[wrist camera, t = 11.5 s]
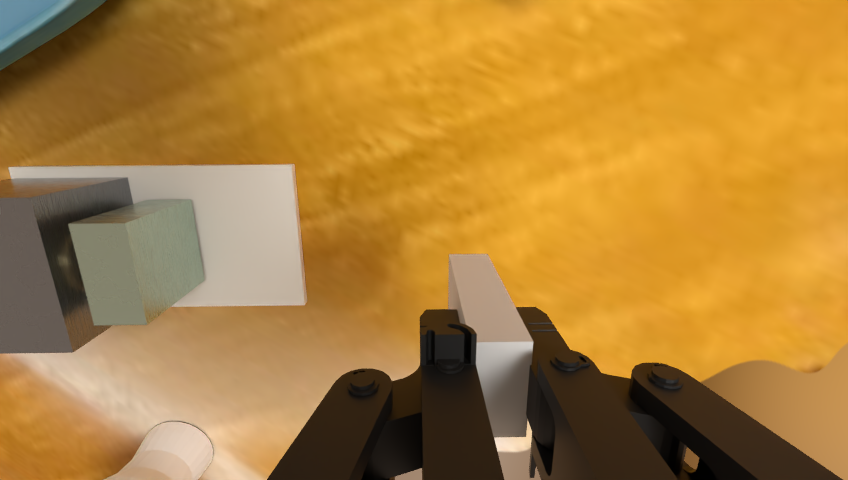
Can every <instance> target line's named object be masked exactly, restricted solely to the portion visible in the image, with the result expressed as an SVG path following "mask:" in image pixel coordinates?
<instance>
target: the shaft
mask: <svg viewBox="0 0 848 480" xmlns="http://www.w3.org/2000/svg"><path fill="white" fill-rule="evenodd" d="M68 225H69V229H70V233H71V237H72V241H73V245H74V249H75V253H76V257H77V261H78V264H79V268H80V272H81V276H82V280H83V284H84V288H85V292H86V296H87V300H88V303H89V307H90V311H91V315H92V319H93V323H94V325H147V324H149V323H150V322H151V321H153V320H154V319H155V318H156V317H158V316H159V315H160V314H162V313H163V312H164V311H166V310H167V309H168V308H169V307H171V306H172V305H173V304H175V303H176V302H177V301H179V300H180V299H181V298H182V297H184V296H185V295H186V294H188V293H189V292H190V291H192V290H193V289H194V288H195V287H197V286H198V285H199V284H201V283H202V282H203V281H205V280H204V274H203V268H202V262H201V256H200V250H199V244H198V238H197V232H196V226H195V220H194V214H193V208H192V202H191V199H179V200H145V201H141V202H138V203H135V204H132V205H128V206H125V207H122V208H118V209H115V210H112V211H109V212H105V213H102V214H99V215H96V216H92V217H89V218H86V219H82V220H79V221H76V222H73V223H69V224H68Z"/></svg>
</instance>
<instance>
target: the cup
mask: <svg viewBox="0 0 848 480" xmlns="http://www.w3.org/2000/svg"><path fill="white" fill-rule="evenodd" d="M212 458H213V447H212V445H211V442H210V440H209V439H208V438H207V436H206V435H205V434H204V433H203V432H202V431H200V430H199V429H198V428H196V427H194V426H192V425H190V424H186V423H182V422H166V423H161V424H159V425H157V426H155V427H154V428H153V429H151V430H150V431H149V432H148V434H147V435H146V437H145V438H144V440H143V442H142V443H141V445H140V447H139V448H138V450H137V452H136V454H135V455H134V457H133V459H132V460H131V461H130V462H129V463H128V464H126V465H125V466H124V467H123V468H122V469H121V470H120V471H119V472H118V473H116V474H114V475H112V476H110V477H108V478H106V479H104V480H198V479H199V478H200V477H201V475H202V474H203V473H204V471H205V470H206V469H207V468H208V466H209V465H210V463H211V461H212Z"/></svg>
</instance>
